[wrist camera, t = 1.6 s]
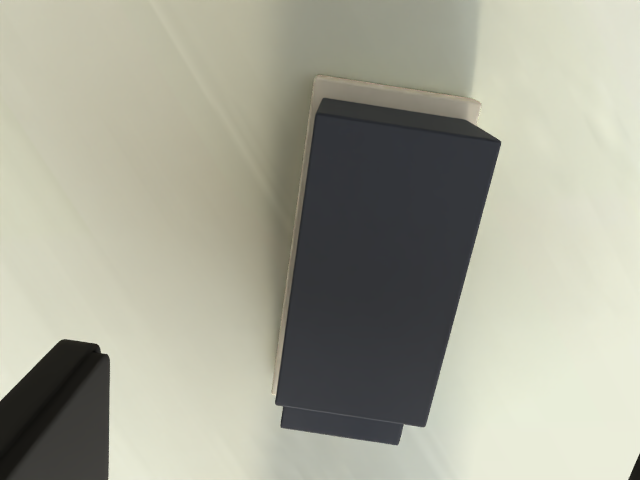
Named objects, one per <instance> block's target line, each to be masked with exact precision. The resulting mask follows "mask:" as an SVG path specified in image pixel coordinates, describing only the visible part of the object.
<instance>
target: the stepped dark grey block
mask: <svg viewBox="0 0 640 480" xmlns="http://www.w3.org/2000/svg"><path fill="white" fill-rule="evenodd" d="M481 106H482V105H481V103H480V102H479V101H476V100H474V99H471V98H466V97H459V96H453V95H447V94H440V93H434V92H427V91H421V90H414V89H408V88H401V87H395V86H389V85H382V84H376V83H369V82H363V81H356V80H350V79H343V78H337V77H331V76H324V75H317V76H316V77H315V78H314V81H313V89H312V96H311V103H310V111H309V118H308V126H307V133H306V140H305V148H304V155H303V163H302V170H301V177H300V185H299V192H298V199H297V207H296V214H295V222H294V229H293V236H292V244H291V251H290V259H289V266H288V273H287V281H286V288H285V296H284V303H283V310H282V318H281V325H280V332H279V340H278V347H277V355H276V362H275V369H274V377H273V384H272V394H273V395H276V400H275V404H276V405H278V406H283V411H282V418H281V425H280V426H281V428H285V429H292V430H299V431H305V432H312V433H319V434H325V435H332V436H339V437H345V438H352V439H359V440H365V441H372V442H379V443H385V444H392V445H398V444H399V441H400V437H401V433H402V429H403V425H404V424H405V425H411V426H418V427H425V426H426V422H427V419H428V415H429V411H430V407H431V404H432V400H433V396H434V393H435V389H436V385H437V381H438V378H439V374H440V370H441V366H442V363H443V359H444V355H445V351H446V348H447V344H448V340H449V336H450V333H451V329H452V325H453V321H454V318H455V314H456V310H457V307H458V303H459V299H460V295H461V292H462V288H463V284H464V280H465V277H466V273H467V269H468V265H469V262H470V258H471V254H472V250H473V247H474V243H475V239H476V235H477V232H478V228H479V224H480V221H481V217H482V213H483V209H484V206H485V202H486V198H487V194H488V191H489V187H490V183H491V179H492V176H493V172H494V168H495V164H496V161H497V157H498V153H499V149H500V146H501V141H500V140H498V139H497V138H495V137H493V136H492V135H490V134H488V133H487V132H485V131H484V130H482V129H480V128H479V127H477V122H478V118H479V114H480V110H481Z"/></svg>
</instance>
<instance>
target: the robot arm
mask: <svg viewBox="0 0 640 480" xmlns="http://www.w3.org/2000/svg"><path fill="white" fill-rule="evenodd" d="M109 387H110V359H109V356H108V355H107V354H102V353H101V351H100V347H99V345H97V344H94V343H87V342H80V341H73V340H67V339H64V340H61V341H60V342H58V343H57V344H56V345H55V346H54V347H53V348H52V349H51V350H50V351H49V352H48V353H47V354H46V355H45V356H44V357H43V358H42V359H41V360H40V361H39V362H38V363H37V365H36V366H35V367H34V368H33V369H32V370H31V371H30V372H29V373H28V374H27V375H26V376H25V377H24V378H23V379H22V380H21V381H20V382H19V383H18V384H17V385H16V386H15V387H14V388H13V389H12V390H11V391H10V392H9V393H8V394H7V395H6V396H5V397H4V398H3V399H2V400H1V401H0V480H108V466H109ZM628 480H640V454H639V456H638V459H637V461H636V463H635V466H634V468H633V470H632V472H631V475H630V477H629V479H628Z"/></svg>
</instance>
